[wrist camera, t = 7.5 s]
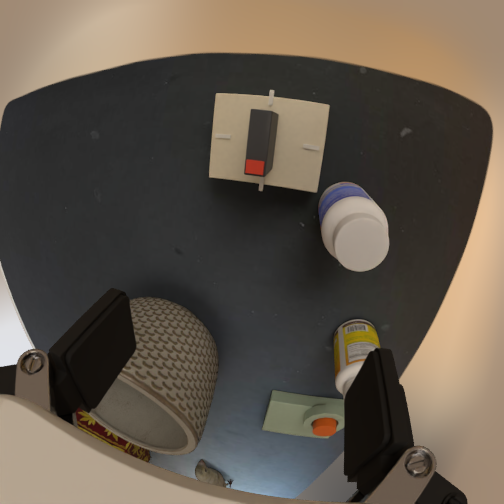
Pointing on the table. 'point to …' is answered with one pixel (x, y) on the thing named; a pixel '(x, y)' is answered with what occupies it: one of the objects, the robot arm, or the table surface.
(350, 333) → the supplement bottle
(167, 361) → the planter
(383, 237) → the pill bottle
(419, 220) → the table surface
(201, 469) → the decorative bird
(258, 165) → the program dial
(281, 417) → the block
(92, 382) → the robot arm
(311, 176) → the dial panel
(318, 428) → the button
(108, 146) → the table surface
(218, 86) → the table surface
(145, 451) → the decorative box
